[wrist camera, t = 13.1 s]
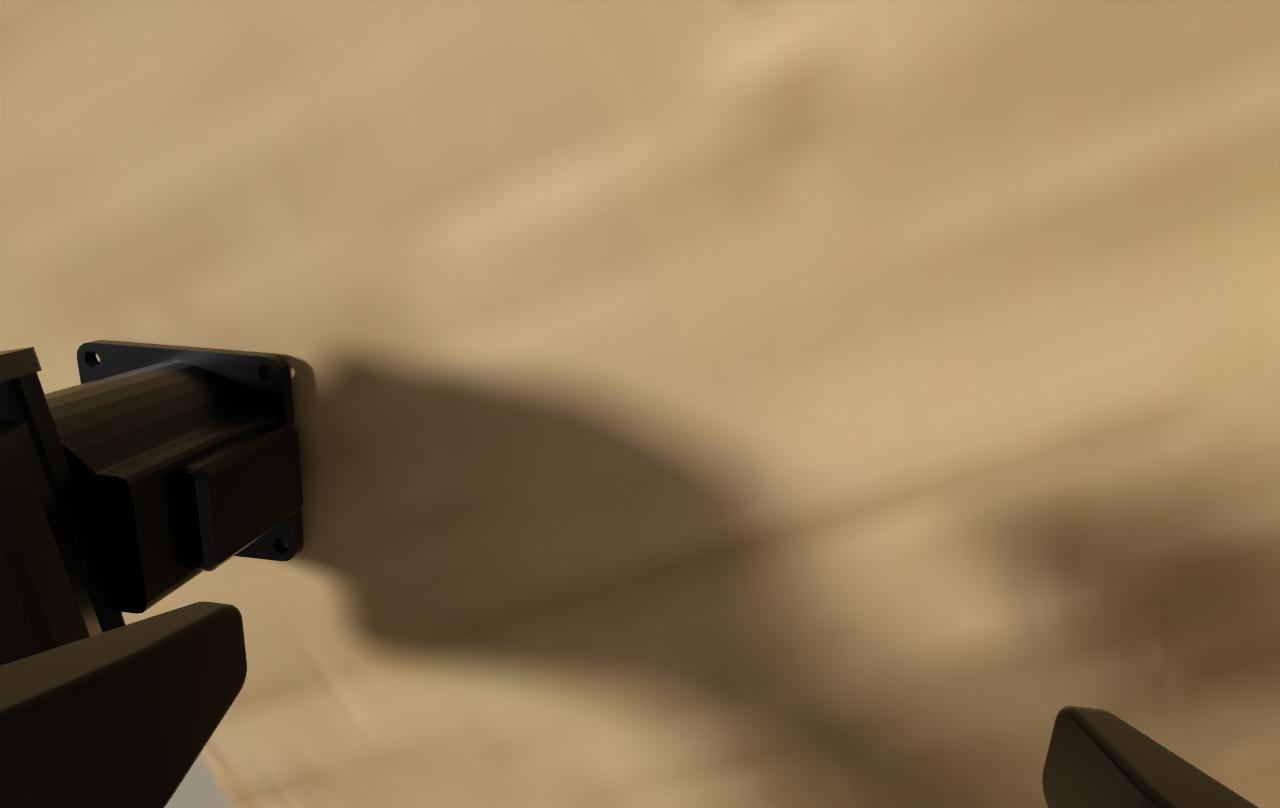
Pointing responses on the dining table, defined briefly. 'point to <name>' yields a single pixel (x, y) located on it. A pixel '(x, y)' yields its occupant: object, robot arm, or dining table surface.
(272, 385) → the robot arm
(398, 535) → the dining table surface
